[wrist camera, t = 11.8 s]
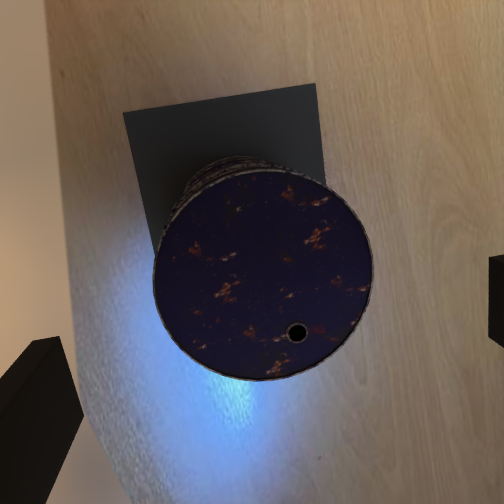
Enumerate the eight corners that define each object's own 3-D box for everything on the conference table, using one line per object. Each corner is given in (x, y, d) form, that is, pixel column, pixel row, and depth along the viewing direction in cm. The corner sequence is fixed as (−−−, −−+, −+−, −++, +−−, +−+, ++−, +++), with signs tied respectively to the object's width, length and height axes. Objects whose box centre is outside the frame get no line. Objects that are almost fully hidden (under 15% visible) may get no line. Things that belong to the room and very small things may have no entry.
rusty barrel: (149, 197, 31) (100, 246, 17) (262, 128, 31) (310, 117, 16) (219, 302, 34) (228, 421, 20) (324, 240, 34) (412, 314, 19)
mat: (123, 112, 30) (122, 112, 30) (315, 83, 30) (315, 83, 30) (174, 339, 35) (173, 340, 34) (338, 309, 35) (339, 309, 35)
